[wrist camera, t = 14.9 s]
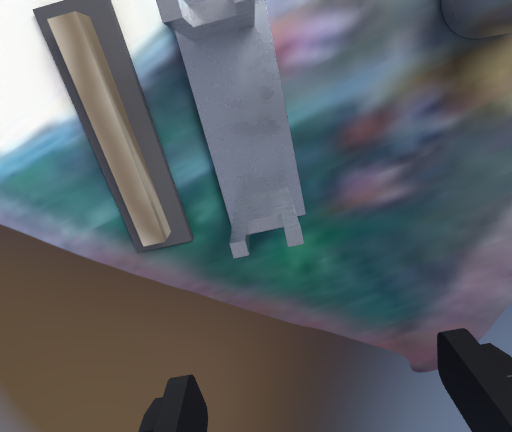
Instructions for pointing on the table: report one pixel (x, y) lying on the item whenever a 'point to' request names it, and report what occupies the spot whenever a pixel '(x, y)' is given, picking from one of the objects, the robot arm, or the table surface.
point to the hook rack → (241, 112)
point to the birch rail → (110, 123)
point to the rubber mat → (121, 67)
